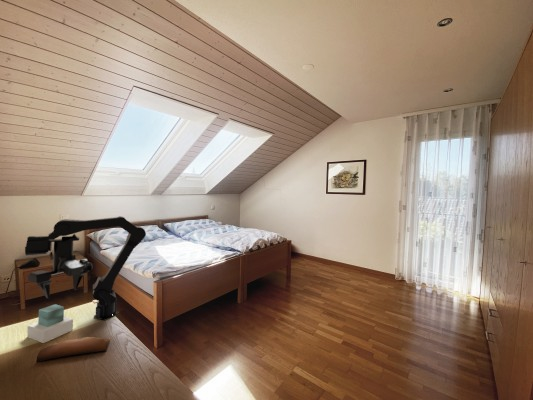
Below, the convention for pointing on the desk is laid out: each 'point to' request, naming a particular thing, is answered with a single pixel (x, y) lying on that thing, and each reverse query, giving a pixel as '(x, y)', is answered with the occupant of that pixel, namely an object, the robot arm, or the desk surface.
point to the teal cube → (51, 315)
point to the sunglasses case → (73, 347)
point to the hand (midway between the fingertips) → (62, 293)
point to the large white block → (49, 330)
